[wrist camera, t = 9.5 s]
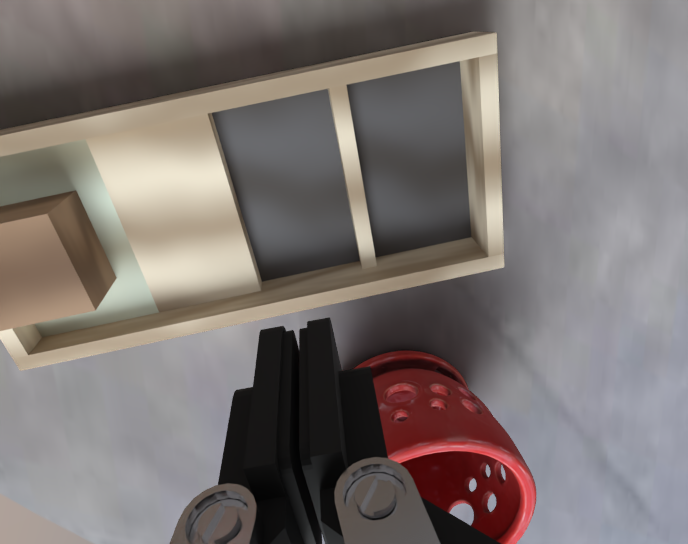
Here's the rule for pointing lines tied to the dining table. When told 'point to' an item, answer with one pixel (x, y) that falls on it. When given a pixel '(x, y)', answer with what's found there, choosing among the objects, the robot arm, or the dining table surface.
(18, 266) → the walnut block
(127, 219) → the track
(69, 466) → the dining table surface
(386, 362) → the plant pot
